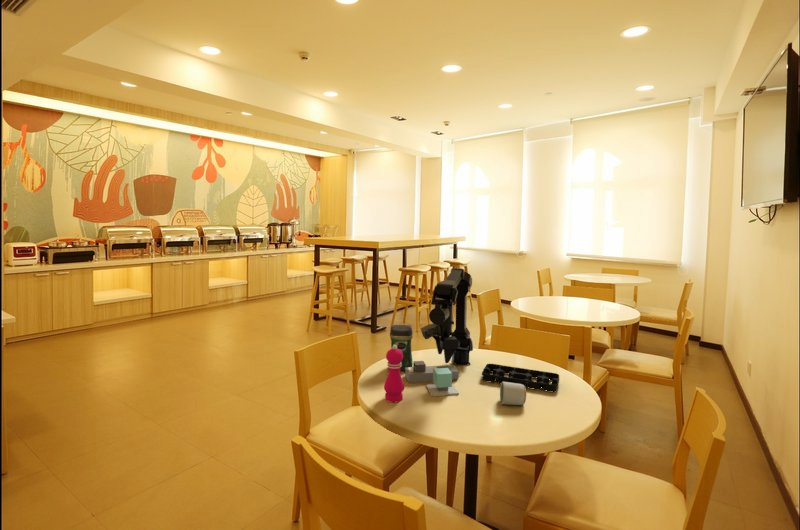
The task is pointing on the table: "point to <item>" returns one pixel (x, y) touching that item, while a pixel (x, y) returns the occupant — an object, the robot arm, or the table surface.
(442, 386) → the green block
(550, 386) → the egg carton
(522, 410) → the table surface
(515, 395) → the ceramic mug
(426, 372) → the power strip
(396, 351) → the pepper mill
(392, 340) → the coffee jar
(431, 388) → the mat
